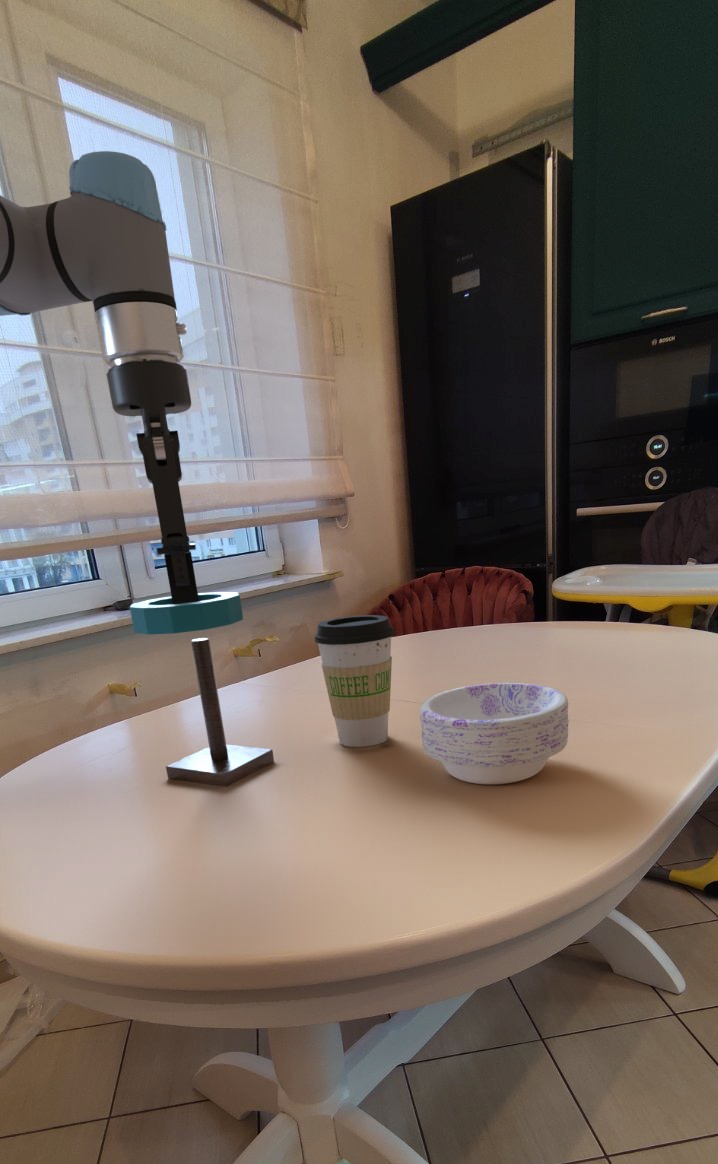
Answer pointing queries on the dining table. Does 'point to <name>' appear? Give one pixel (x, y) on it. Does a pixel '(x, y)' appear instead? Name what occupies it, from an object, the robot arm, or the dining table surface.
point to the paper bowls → (495, 730)
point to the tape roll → (186, 613)
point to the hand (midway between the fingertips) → (188, 615)
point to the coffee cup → (357, 676)
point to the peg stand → (215, 736)
